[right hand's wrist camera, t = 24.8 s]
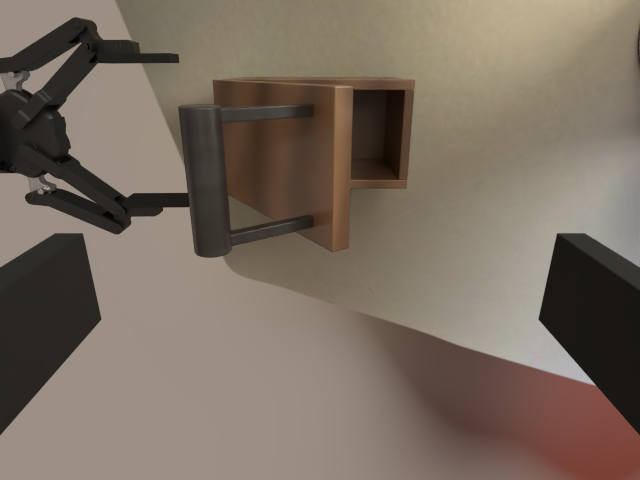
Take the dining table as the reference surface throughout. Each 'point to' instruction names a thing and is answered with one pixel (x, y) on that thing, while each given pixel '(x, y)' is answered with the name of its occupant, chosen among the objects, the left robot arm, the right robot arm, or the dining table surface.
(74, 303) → the right robot arm
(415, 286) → the dining table surface
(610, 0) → the dining table surface
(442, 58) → the dining table surface
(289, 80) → the chest
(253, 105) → the lid
